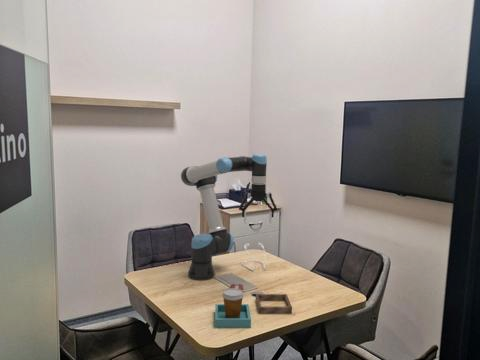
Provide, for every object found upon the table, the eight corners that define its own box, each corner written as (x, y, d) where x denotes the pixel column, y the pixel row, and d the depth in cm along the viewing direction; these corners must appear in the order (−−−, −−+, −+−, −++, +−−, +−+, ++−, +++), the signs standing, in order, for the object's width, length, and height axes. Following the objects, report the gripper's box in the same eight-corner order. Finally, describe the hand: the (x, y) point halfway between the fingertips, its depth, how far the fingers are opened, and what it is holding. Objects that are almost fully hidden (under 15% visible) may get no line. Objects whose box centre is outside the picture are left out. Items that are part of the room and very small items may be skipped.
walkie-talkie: (226, 288, 220) (225, 304, 200) (227, 280, 220) (225, 295, 200) (243, 288, 220) (243, 304, 200) (243, 280, 219) (243, 296, 200)
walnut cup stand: (258, 313, 190) (258, 307, 190) (255, 299, 205) (255, 294, 205) (291, 313, 191) (292, 307, 190) (286, 299, 206) (286, 294, 206)
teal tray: (214, 327, 176) (215, 319, 176) (215, 311, 191) (215, 304, 191) (250, 327, 177) (251, 319, 176) (248, 311, 192) (248, 304, 192)
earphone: (250, 267, 241) (243, 241, 252) (244, 281, 253) (237, 256, 264) (272, 265, 245) (264, 240, 257) (264, 279, 257) (257, 255, 268)
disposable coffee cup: (246, 315, 186) (247, 290, 185) (237, 324, 178) (237, 297, 176) (228, 311, 191) (228, 286, 189) (218, 319, 182) (218, 293, 181)
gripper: (281, 183, 221) (279, 221, 223) (234, 182, 219) (233, 221, 222) (283, 185, 213) (281, 225, 216) (235, 184, 212) (234, 224, 215)
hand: (257, 223), depth 219 cm, fingers open, 13 cm apart
